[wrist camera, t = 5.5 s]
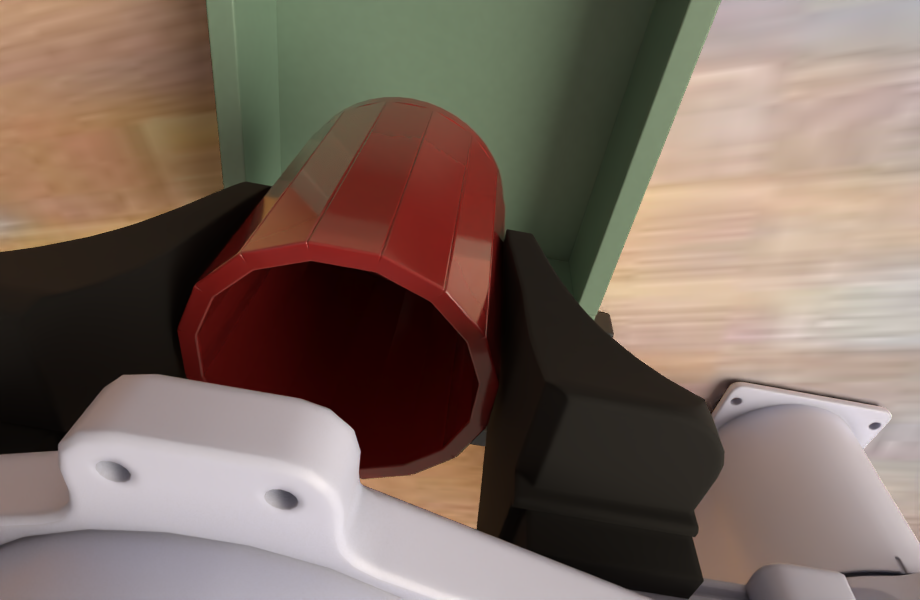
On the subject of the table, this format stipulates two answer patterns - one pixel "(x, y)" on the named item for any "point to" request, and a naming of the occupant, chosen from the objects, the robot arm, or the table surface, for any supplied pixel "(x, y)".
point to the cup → (367, 285)
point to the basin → (476, 97)
